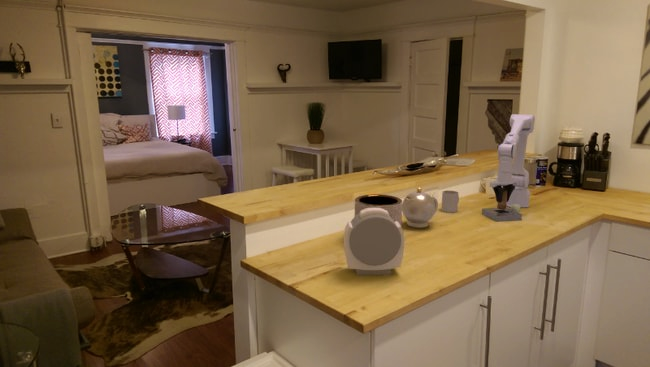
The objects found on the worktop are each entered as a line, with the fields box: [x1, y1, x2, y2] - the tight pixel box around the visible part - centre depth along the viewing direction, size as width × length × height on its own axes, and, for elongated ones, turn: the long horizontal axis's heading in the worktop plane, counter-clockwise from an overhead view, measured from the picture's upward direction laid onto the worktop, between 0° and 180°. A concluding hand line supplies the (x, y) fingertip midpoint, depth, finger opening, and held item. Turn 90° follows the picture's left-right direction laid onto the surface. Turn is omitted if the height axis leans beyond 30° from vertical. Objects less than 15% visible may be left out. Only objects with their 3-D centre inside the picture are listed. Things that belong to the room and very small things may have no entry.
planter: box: [353, 193, 403, 228], centre depth 165 cm, size 18×18×16 cm
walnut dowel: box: [496, 190, 507, 209], centre depth 195 cm, size 4×4×8 cm
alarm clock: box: [343, 208, 406, 276], centre depth 136 cm, size 18×8×20 cm, turn 92°
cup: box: [441, 190, 460, 214], centre depth 206 cm, size 7×10×9 cm
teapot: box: [402, 186, 439, 229], centre depth 183 cm, size 18×14×16 cm
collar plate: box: [481, 206, 523, 222], centre depth 196 cm, size 12×12×2 cm
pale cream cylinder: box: [510, 204, 521, 214], centre depth 201 cm, size 4×4×4 cm
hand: (502, 201), depth 195 cm, fingers closed on walnut dowel, 4 cm apart
